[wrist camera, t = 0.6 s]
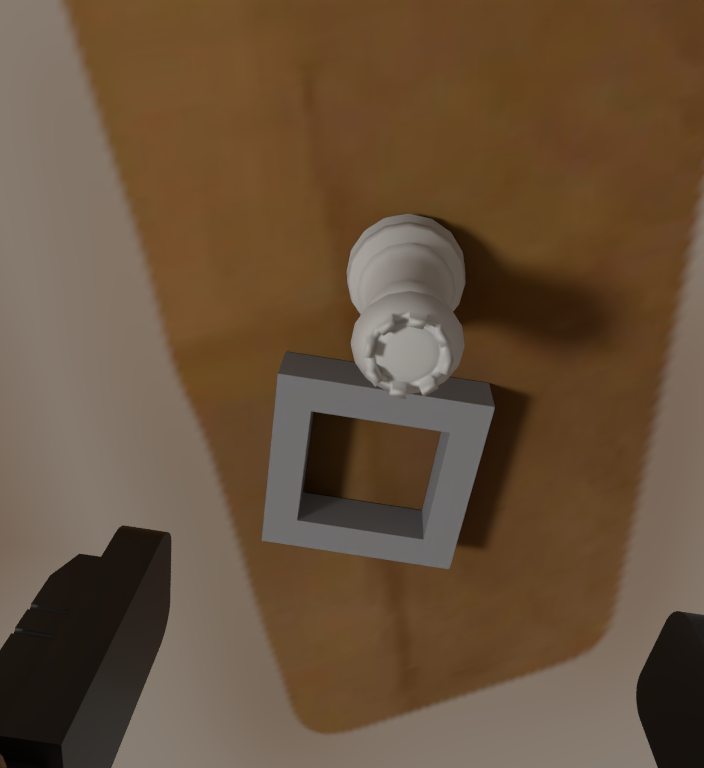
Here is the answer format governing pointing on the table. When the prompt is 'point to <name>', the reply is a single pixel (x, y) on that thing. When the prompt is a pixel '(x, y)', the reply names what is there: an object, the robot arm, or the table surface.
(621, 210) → the table surface
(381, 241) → the rook chess piece
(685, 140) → the table surface
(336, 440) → the table surface
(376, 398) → the socket plinth
